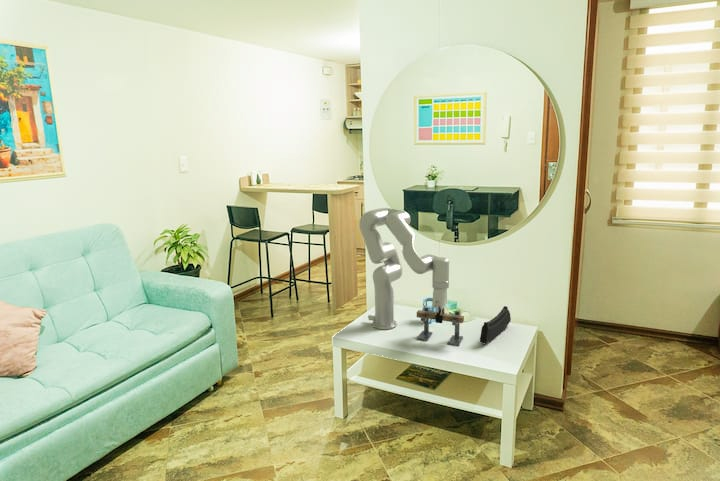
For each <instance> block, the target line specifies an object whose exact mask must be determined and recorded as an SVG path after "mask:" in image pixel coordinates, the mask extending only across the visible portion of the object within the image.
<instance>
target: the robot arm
mask: <svg viewBox="0 0 720 481" xmlns="http://www.w3.org/2000/svg"><path fill="white" fill-rule="evenodd" d="M411 220H412V219H411V215H410V214H409V213H408V212H407V211H404V210H401V209H396V208H395V209H394V208H388V207H382V208H377V209H372V210H369V211H367V212H364V213H363V214H362V215H361V217H360V219H359V223H358V225H359V230H360V233H361V235H362V237H363V241H364V243H365V247H366V250H367V253H368V257H369V260H370V261H371V263H373V264H375V265H378V264H382V263H383V265H379V266H378V267H377V268H375V270H373V273H372V280H373V285H374V315H372V314H368V316H367V318H368V320H369V321H372V323H371V324H372V327H373V328H375V329H378V330H391V329H394V328H396V327H397V326H398V325H397V324H398V323H397V321H396V320H395V319H394V316H395V314H394V313H395V312H394V310H395V309H394V305H395V304H394V303H395V302H394V288H393V287H392V283H393V282H395V281H397V280H399V279H400V278H401V277H402V276H403V267H402V264H401V261H400V258H399V254H398V251H397V249H396V247H395V246H394V244H392V243H391V242H389V241H386V242H383V239H382V236H381V234H380V233H379V231H378V230H377V227H380V226H386V227H387V228H388V230H389V231H390V233H391V234H392V235H393V236H394V238H395V239H396V240H397V242H398V243H399V245H400V246H401V252H402V256H403V259H404V261H405V262H406V263H407V266H409V269H411V270H412V271H413V272H414V273H416V274H418V275H423V274H426V273H427V272H431V271H432V278H431V279H432V281H431V283H432V284H431V286H432V287H431V288H432V289H433V291H432V298H433V300H432V301H431V302H432V303H431V304H432V305H431V306H432V308H433V309H434V308H435V307H436V311H435V312H436V321H435V323H436V324H443V321H442V320H443V315H442V313H445V308H446V305H447V301H448V289H449V287H450V285H449V284H450V279H449V278H450V261H449V258H447V257H443V256H436V255H433V254H425V255H422V256H419V254H418V253H417V251H416V250H415V246H414V241H415V239H416V237H417V236H416V233H415V232H414V230H413V229H412V228H411V227H410V226H409V225H410V224H411ZM445 314H446V313H445Z"/></svg>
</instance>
